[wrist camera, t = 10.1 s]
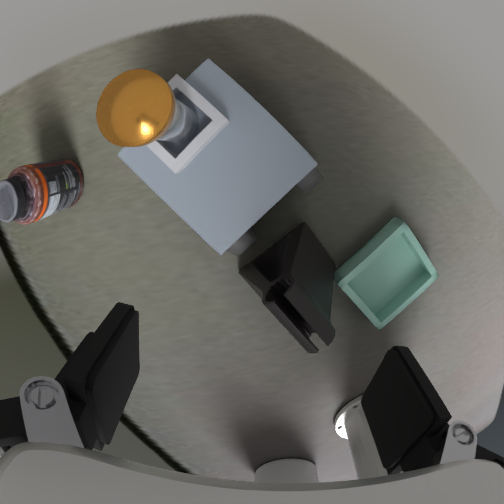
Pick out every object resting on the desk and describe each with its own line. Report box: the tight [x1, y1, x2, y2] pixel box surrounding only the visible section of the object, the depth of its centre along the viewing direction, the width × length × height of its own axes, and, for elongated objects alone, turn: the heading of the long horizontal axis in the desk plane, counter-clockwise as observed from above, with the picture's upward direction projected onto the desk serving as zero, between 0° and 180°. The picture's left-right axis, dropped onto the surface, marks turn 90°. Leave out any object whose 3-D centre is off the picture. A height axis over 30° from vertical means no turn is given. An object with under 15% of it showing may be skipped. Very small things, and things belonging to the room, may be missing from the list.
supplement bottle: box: [0, 160, 83, 225], centre depth 24 cm, size 6×6×11 cm
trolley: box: [118, 58, 322, 255], centre depth 25 cm, size 11×15×9 cm
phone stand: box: [239, 223, 335, 353], centre depth 27 cm, size 9×6×12 cm, turn 128°
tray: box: [334, 217, 439, 330], centre depth 32 cm, size 9×10×3 cm
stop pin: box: [96, 69, 199, 147], centre depth 17 cm, size 4×4×10 cm
